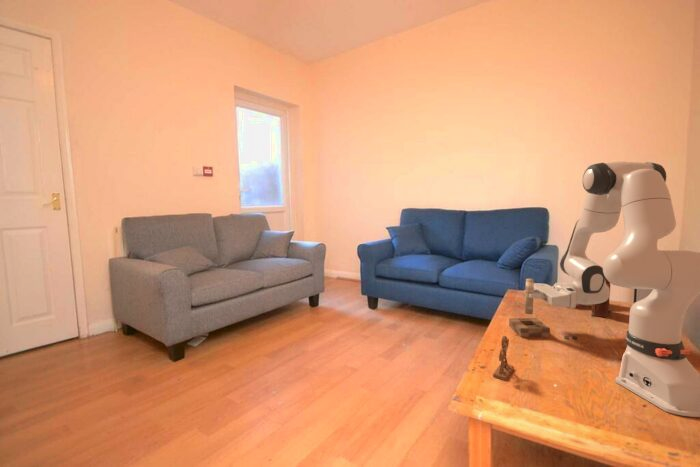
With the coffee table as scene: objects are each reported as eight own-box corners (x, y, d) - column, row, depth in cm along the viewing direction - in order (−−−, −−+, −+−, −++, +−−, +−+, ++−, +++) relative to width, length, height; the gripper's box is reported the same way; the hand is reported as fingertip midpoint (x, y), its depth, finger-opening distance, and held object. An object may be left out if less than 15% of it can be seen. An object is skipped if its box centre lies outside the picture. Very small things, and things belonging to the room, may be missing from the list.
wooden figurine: (591, 308, 159) (593, 271, 157) (608, 311, 155) (610, 273, 154) (591, 316, 150) (593, 277, 148) (609, 318, 146) (611, 278, 144)
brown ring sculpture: (505, 380, 100) (506, 342, 99) (492, 376, 103) (493, 339, 101) (513, 368, 107) (514, 333, 106) (501, 365, 109) (501, 330, 108)
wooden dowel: (534, 314, 133) (535, 280, 132) (526, 314, 134) (527, 280, 132) (530, 311, 136) (531, 278, 135) (523, 311, 136) (524, 278, 135)
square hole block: (549, 336, 130) (550, 328, 129) (520, 337, 130) (520, 328, 130) (535, 326, 140) (536, 318, 140) (509, 326, 141) (509, 318, 141)
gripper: (549, 279, 143) (516, 279, 144) (578, 293, 123) (539, 293, 124) (548, 293, 144) (515, 294, 145) (577, 309, 123) (539, 310, 124)
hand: (527, 294), depth 134 cm, fingers closed on wooden dowel, 3 cm apart
